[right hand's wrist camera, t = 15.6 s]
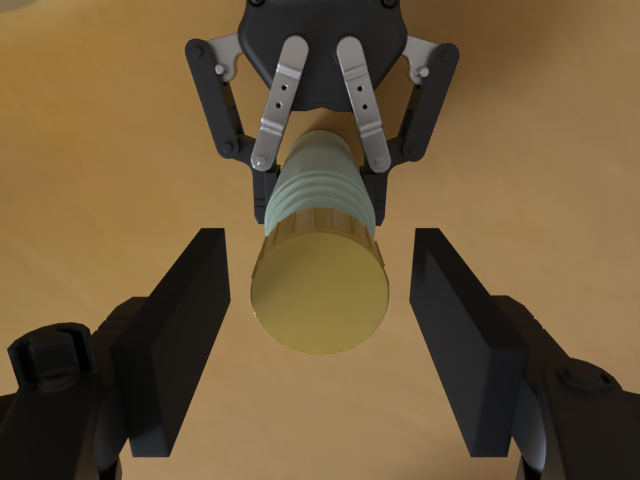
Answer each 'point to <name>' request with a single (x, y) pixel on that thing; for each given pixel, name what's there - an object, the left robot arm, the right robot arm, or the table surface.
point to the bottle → (320, 181)
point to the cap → (319, 282)
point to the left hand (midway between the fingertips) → (319, 229)
